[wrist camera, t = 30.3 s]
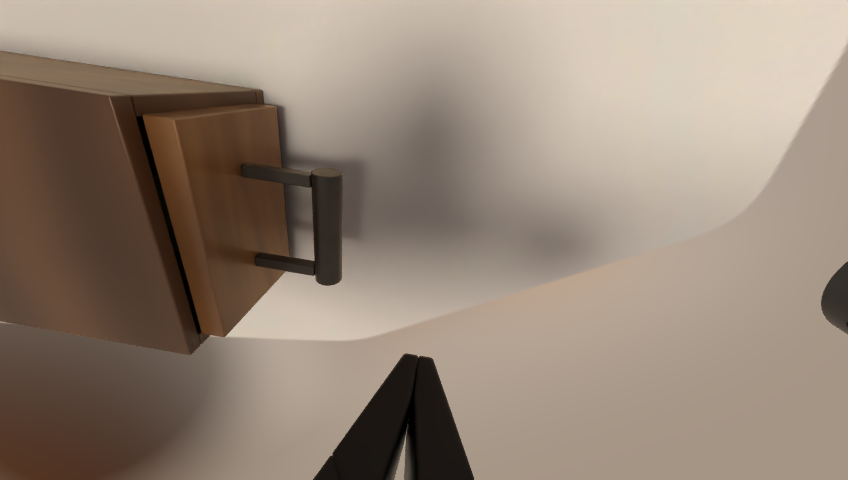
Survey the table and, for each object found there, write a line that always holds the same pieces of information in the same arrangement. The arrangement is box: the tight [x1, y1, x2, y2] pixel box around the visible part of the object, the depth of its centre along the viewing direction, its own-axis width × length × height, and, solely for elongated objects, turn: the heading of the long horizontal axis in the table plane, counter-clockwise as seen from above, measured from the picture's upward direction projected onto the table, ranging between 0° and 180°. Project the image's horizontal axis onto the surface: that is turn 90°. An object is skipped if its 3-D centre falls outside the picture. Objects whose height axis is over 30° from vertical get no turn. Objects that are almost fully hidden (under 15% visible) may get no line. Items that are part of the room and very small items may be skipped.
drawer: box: [136, 103, 343, 337], centre depth 16 cm, size 20×10×7 cm, turn 83°
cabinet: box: [0, 51, 264, 355], centre depth 16 cm, size 16×11×8 cm
